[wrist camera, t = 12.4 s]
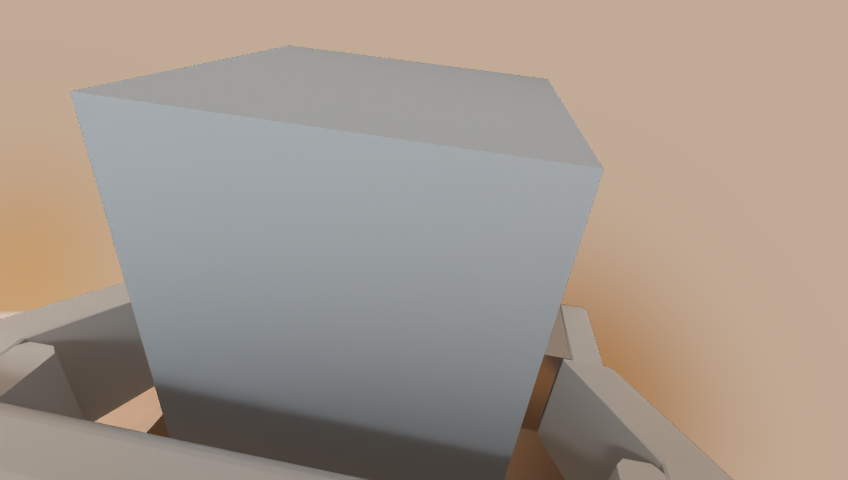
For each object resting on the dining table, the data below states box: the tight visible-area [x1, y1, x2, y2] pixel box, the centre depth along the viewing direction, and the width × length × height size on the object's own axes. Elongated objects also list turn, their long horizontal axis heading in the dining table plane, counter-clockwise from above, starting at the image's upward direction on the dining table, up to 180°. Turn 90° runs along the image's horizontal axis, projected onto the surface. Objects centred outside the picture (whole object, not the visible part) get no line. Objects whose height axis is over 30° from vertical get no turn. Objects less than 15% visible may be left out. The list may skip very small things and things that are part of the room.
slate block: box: [70, 46, 604, 480], centre depth 9 cm, size 5×5×10 cm
